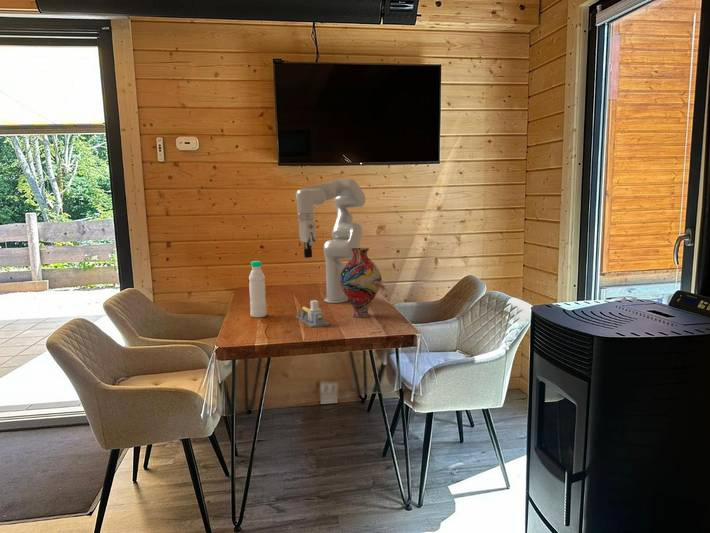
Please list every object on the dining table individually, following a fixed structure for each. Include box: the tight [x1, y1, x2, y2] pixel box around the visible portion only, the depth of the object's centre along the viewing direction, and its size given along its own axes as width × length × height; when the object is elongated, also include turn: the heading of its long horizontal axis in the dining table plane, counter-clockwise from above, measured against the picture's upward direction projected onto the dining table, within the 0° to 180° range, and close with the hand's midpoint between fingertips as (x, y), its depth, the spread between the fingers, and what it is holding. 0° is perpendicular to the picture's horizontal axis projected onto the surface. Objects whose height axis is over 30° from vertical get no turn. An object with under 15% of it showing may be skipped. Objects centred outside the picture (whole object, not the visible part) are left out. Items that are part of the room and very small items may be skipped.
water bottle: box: [248, 260, 267, 318], centre depth 216 cm, size 7×7×25 cm
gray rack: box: [295, 306, 330, 328], centre depth 206 cm, size 20×8×5 cm, turn 25°
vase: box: [339, 247, 383, 318], centre depth 213 cm, size 19×19×30 cm
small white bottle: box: [308, 299, 322, 321], centre depth 203 cm, size 4×5×8 cm
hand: (308, 257), depth 221 cm, fingers closed
